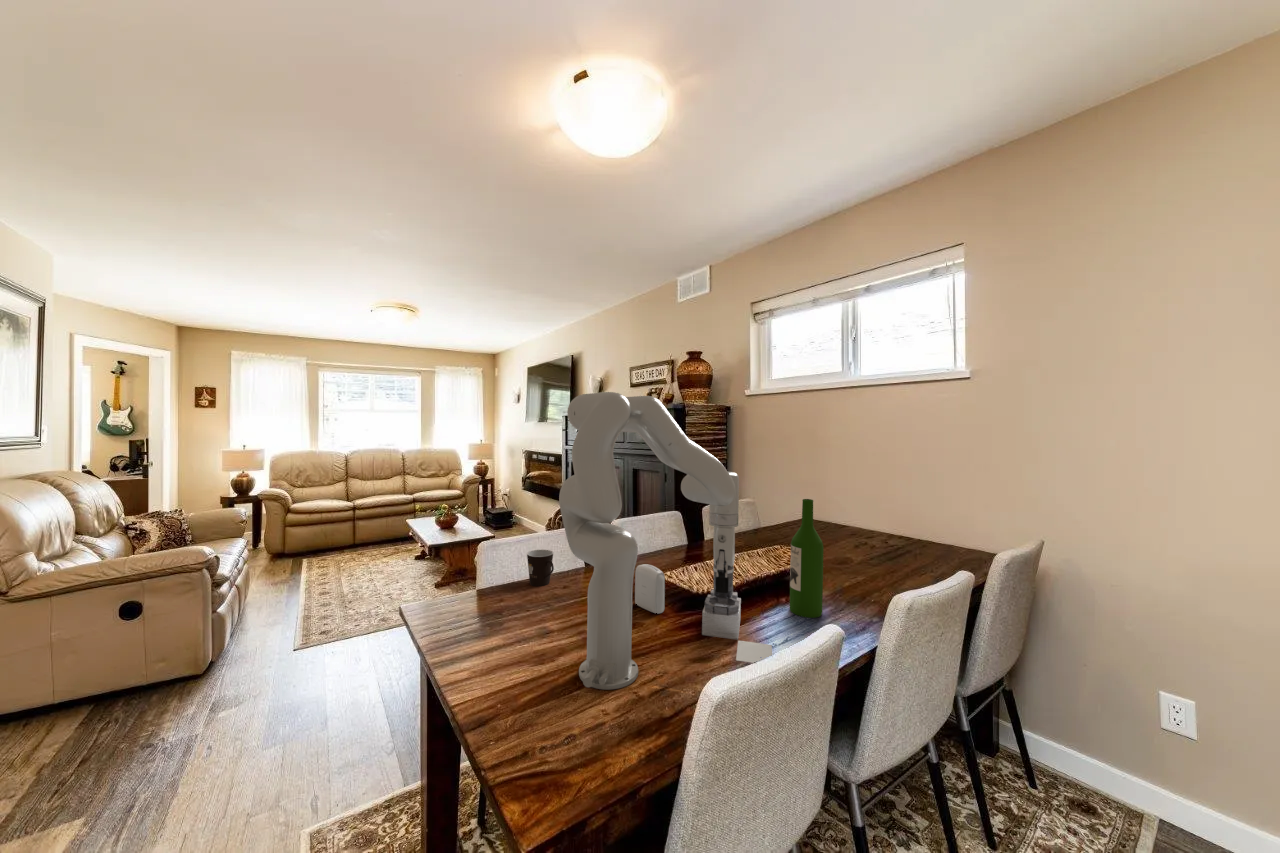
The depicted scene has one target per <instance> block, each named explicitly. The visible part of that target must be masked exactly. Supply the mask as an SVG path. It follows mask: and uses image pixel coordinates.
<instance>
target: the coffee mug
mask: <svg viewBox="0 0 1280 853" xmlns="http://www.w3.org/2000/svg"><path fill="white" fill-rule="evenodd" d="M526 557H527V568H528V569H527V570H528V578H529V585H531V587H545V586H548V585H550V581H551V575H552V574H553V572H554V563H553V558H554V551H553V550H550V549H533V550H530V551H528V552H526Z"/></svg>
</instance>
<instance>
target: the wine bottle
mask: <svg viewBox="0 0 1280 853" xmlns="http://www.w3.org/2000/svg"><path fill="white" fill-rule="evenodd" d="M801 511H802V512H801V525H800V527H799V528H798V530H797V531H796V532H795V534H794V536H792V538H791V541H790V565H789V566H790V567H789V568H790V571H789V574H790V576H789V577H790V579H789V611H790V613H792V614H794V615H795V616H797V617H801V618H808V619H809V618H810V619H813V618H814V619H815V618H819V617H821V616H822V615H823V589H824V549H825V548H824V543H823V540H822V539H821V537H820V535H819V534H818V532H817V530H816V529H815V526H814V499H812V498H811V499H810V498H803V499H802V508H801Z"/></svg>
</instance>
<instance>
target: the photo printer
mask: <svg viewBox="0 0 1280 853" xmlns="http://www.w3.org/2000/svg"><path fill="white" fill-rule="evenodd" d="M634 575H635V578H634V583H635V585H634V603H635V605H636V604H637V605H636V606H638V607H640V608H642V609H644V610H646V611H648V612H651V613H654V614H656V613H657V615H659V614H662V613H664V611H665V608H666V607H665V605H666V603H665V602H666V601H665V597H666V596H665V595H666V593H665V592H666V588H665V587H666V584H665V583H666V581H665V580H666V576H665V574H664V572H663V571H662V570H661V569H660V568H658V567H656V566H654V565H652V564H647V563H644V564H638V565H637V566H636V568H635V570H634Z"/></svg>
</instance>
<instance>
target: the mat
mask: <svg viewBox="0 0 1280 853" xmlns="http://www.w3.org/2000/svg"><path fill="white" fill-rule="evenodd" d="M736 647H737V649H736V655H735V656H736V657H735V658H736V659H735V661H737V662H744V663H752V664H755V663H754V662H756V661H759V660H761V659H764V658H766V657H769V656H771V655H772V656H773V646H772V644H767V643H766V644H765V643H761V642H753V641H752V642H751V641H746V640H745V641H744V640H739V639H738V640H737V646H736ZM760 657H762V658H760Z"/></svg>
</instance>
